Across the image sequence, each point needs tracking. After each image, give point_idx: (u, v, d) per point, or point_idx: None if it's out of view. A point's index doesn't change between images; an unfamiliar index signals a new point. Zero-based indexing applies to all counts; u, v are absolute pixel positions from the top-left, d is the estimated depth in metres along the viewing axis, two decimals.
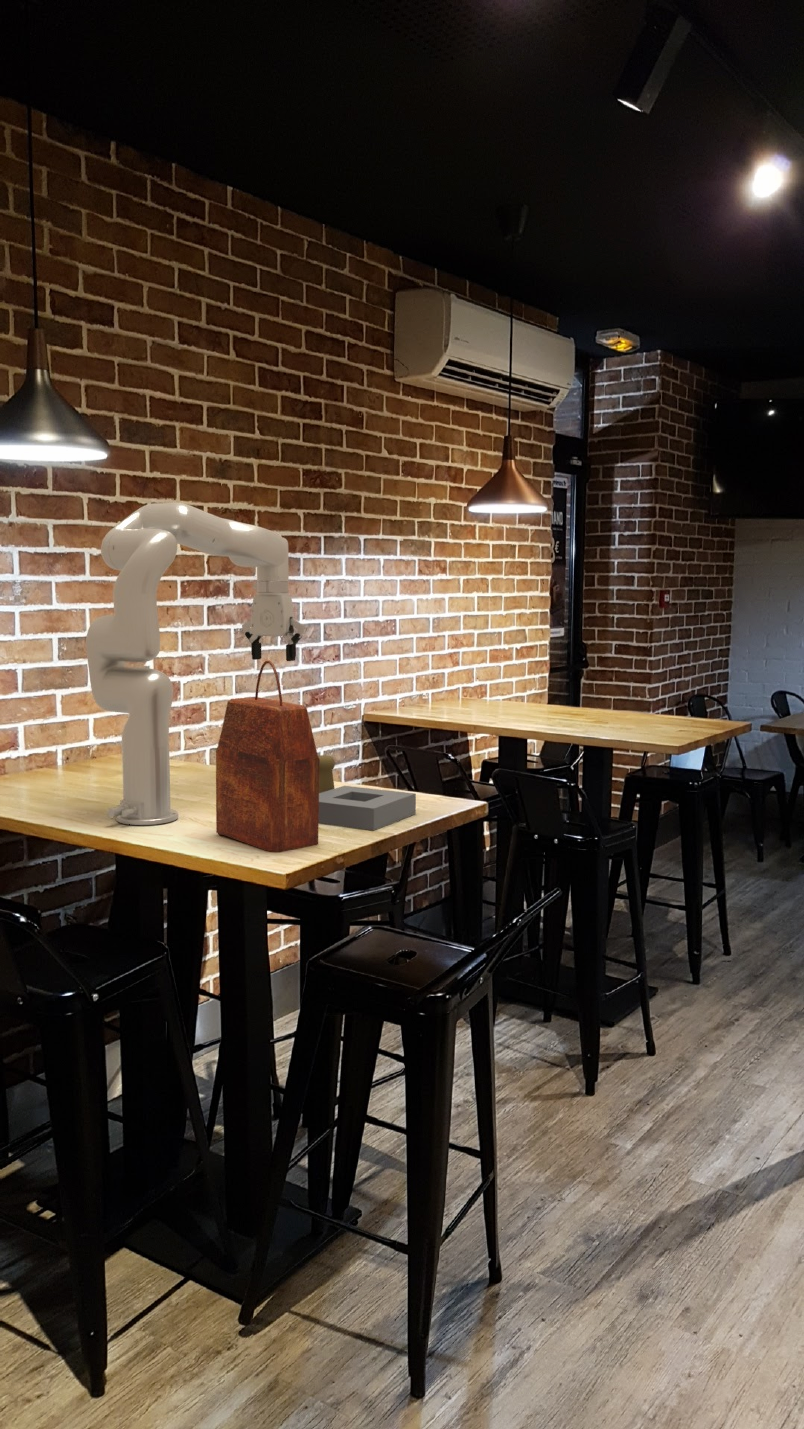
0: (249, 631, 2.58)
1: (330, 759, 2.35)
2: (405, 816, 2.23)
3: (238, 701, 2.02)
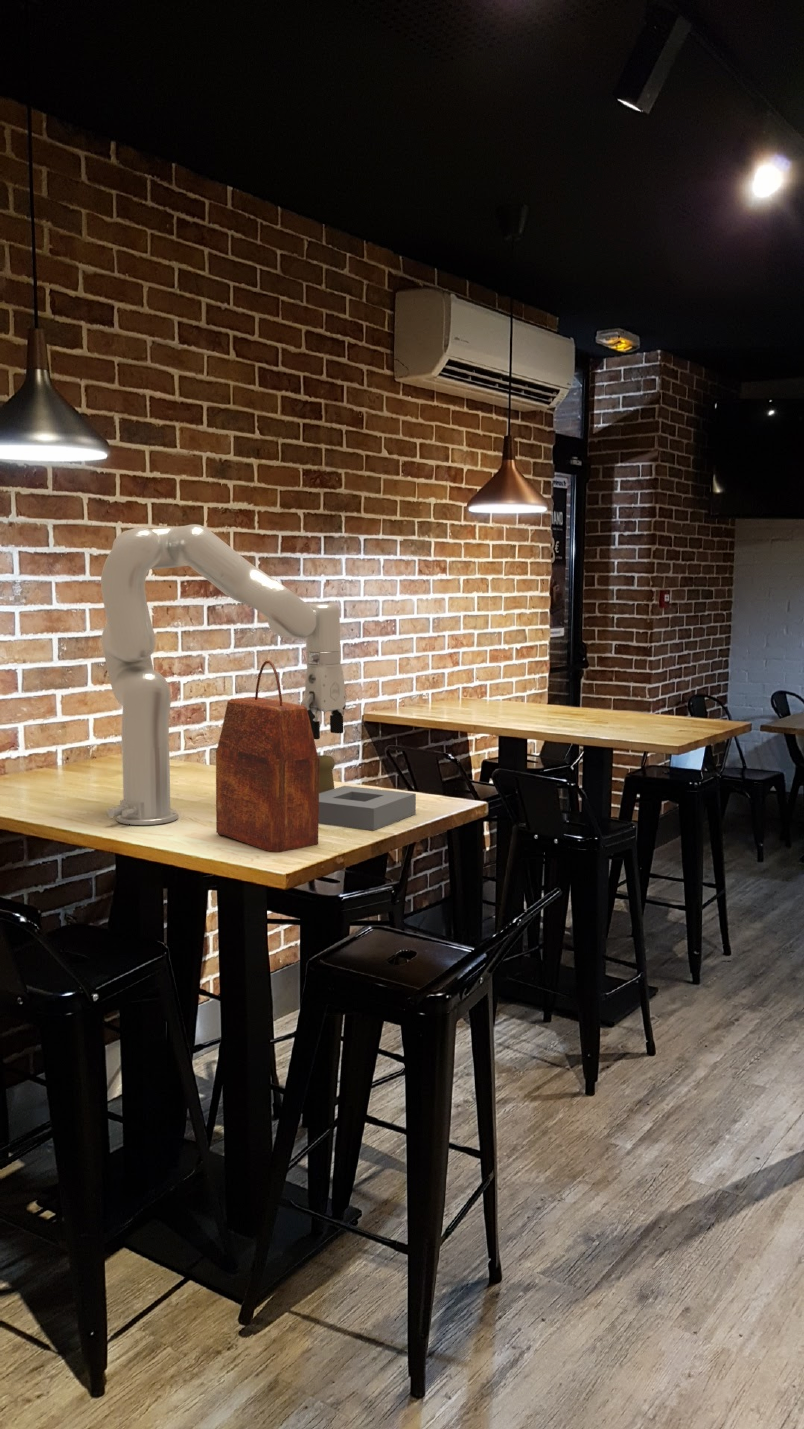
0: None
1: (330, 759, 2.35)
2: (405, 816, 2.23)
3: (238, 701, 2.02)
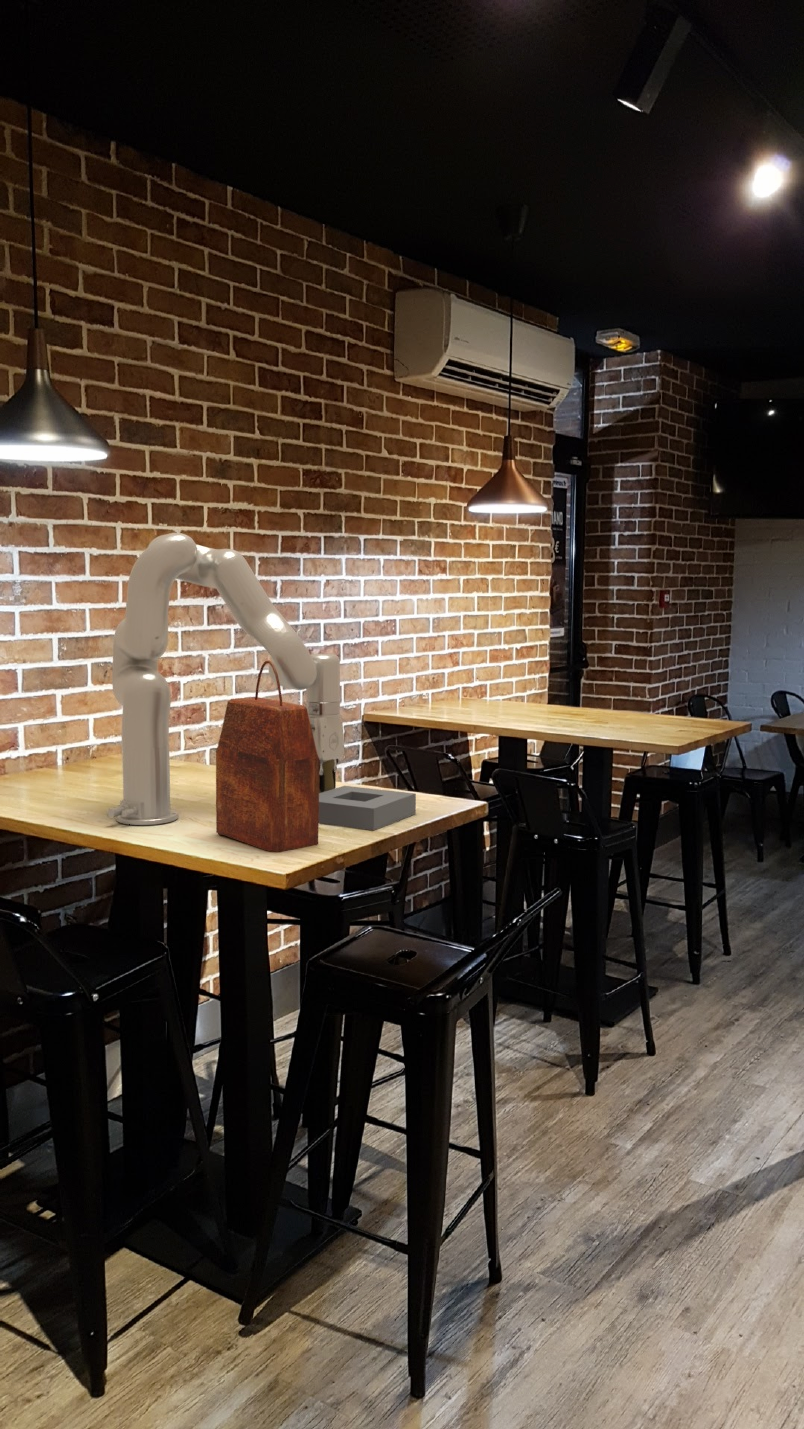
0: None
1: None
2: (405, 816, 2.23)
3: (238, 701, 2.02)
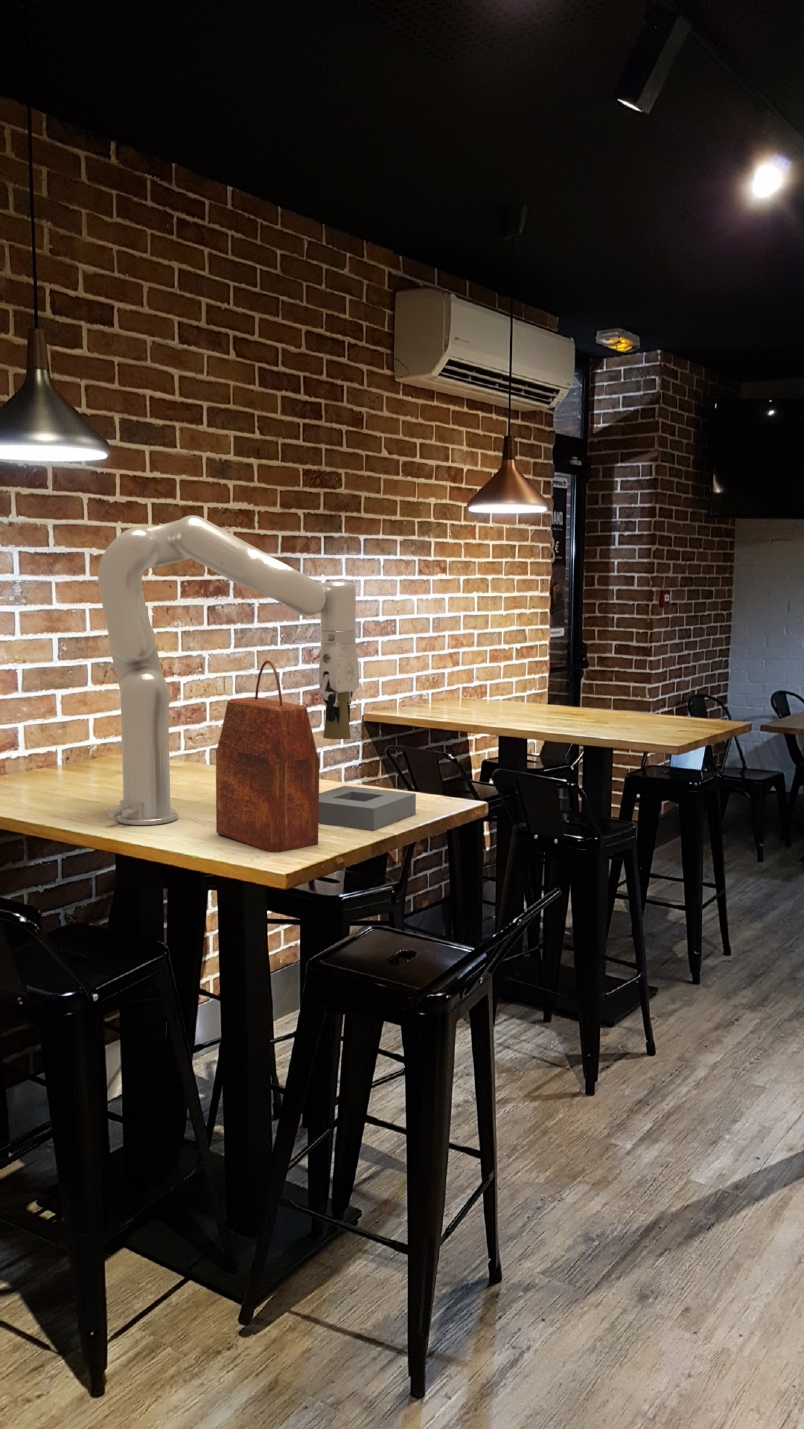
0: None
1: None
2: (405, 816, 2.23)
3: (238, 701, 2.02)
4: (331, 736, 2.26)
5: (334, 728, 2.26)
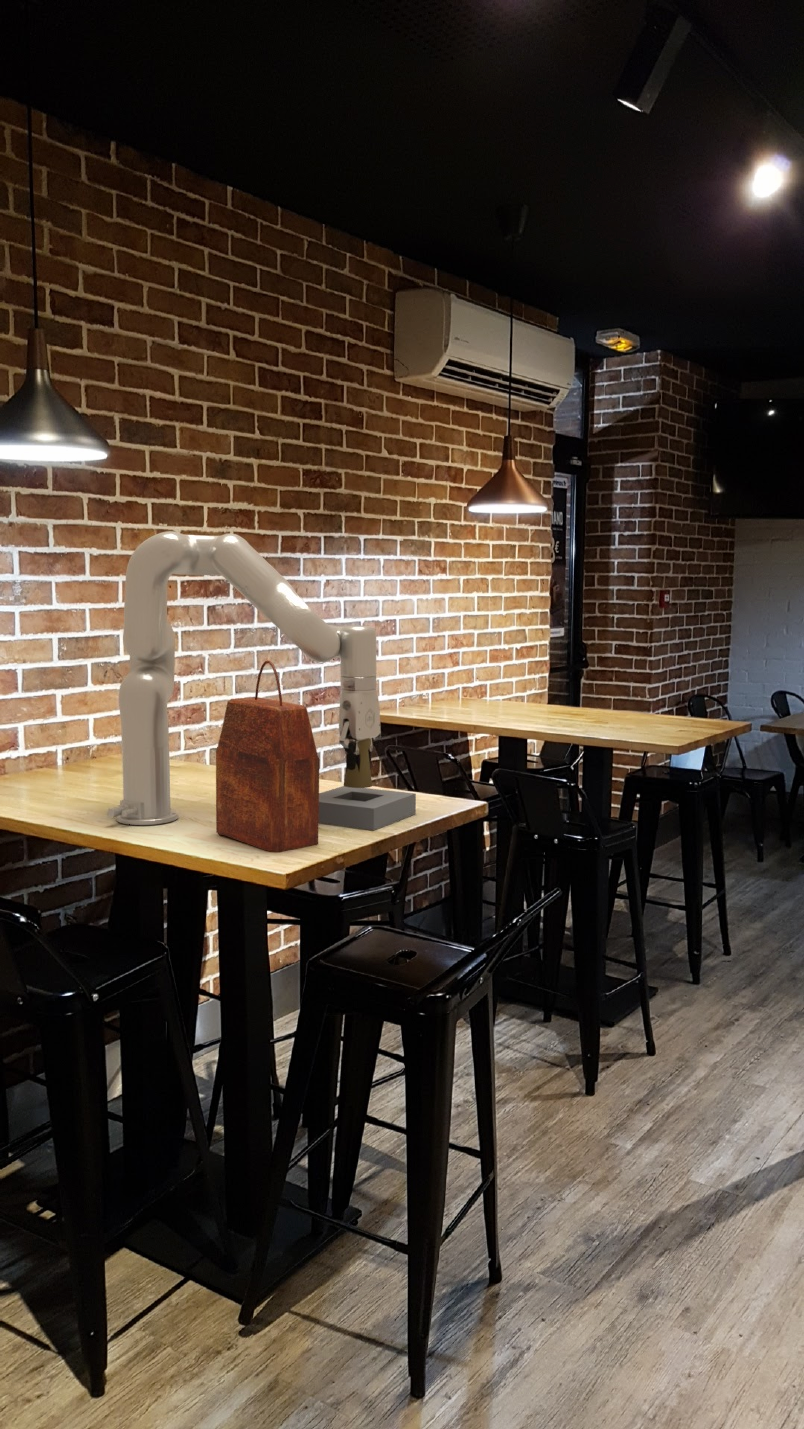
0: None
1: None
2: (405, 816, 2.23)
3: (238, 701, 2.02)
4: (351, 785, 2.20)
5: (354, 776, 2.20)
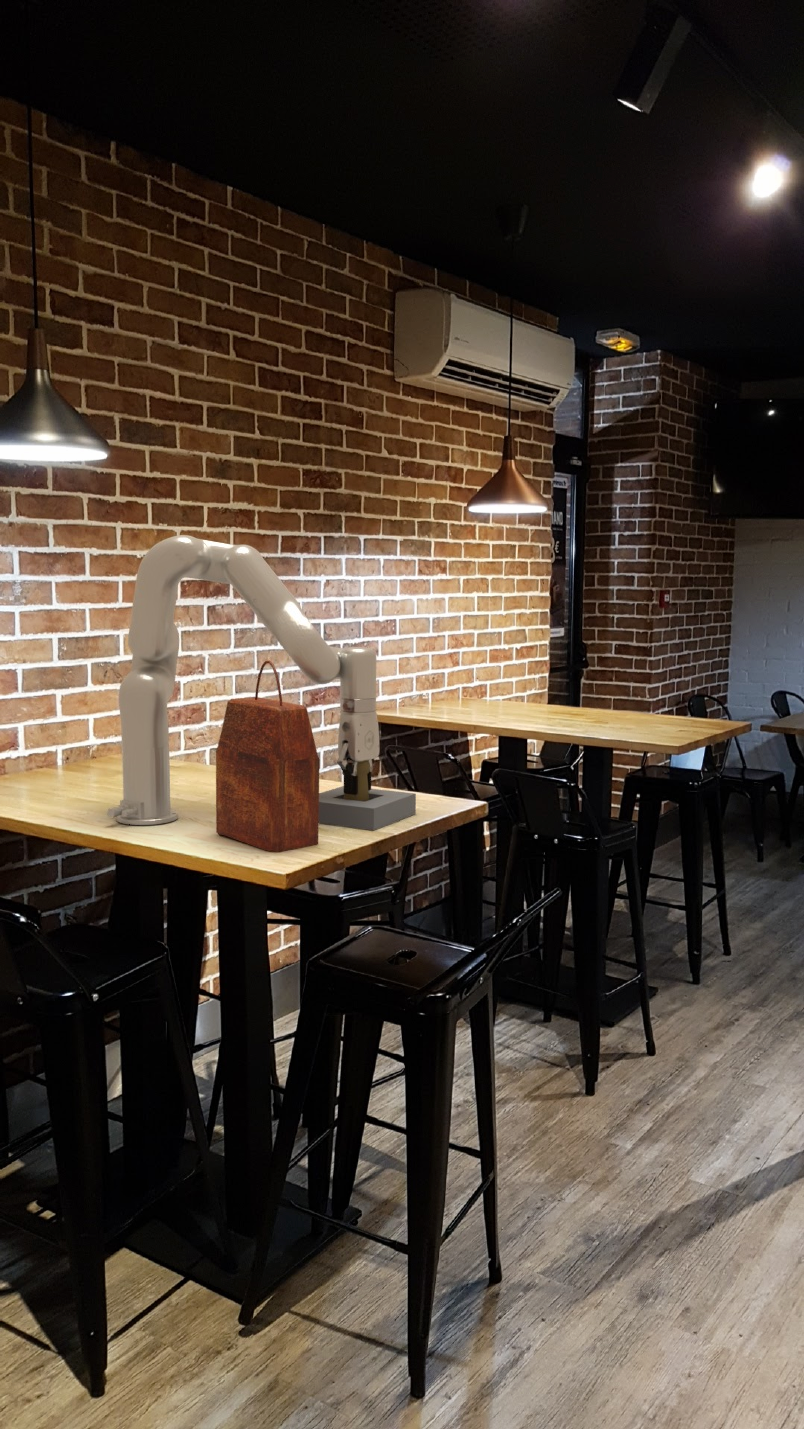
0: None
1: (366, 762, 2.21)
2: (405, 816, 2.23)
3: (238, 701, 2.02)
4: None
5: None
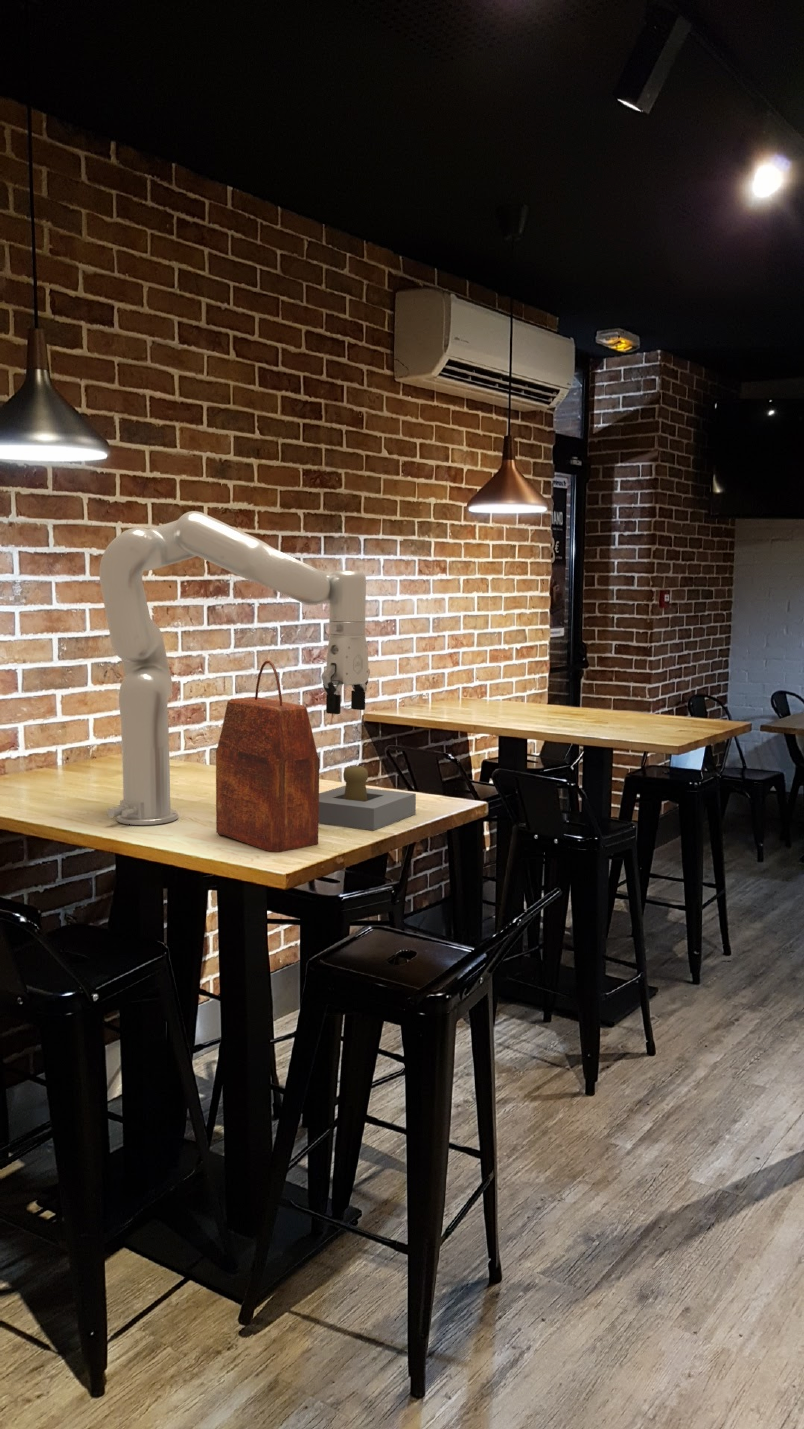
0: None
1: (363, 770, 2.21)
2: (405, 816, 2.23)
3: (238, 701, 2.02)
4: None
5: None
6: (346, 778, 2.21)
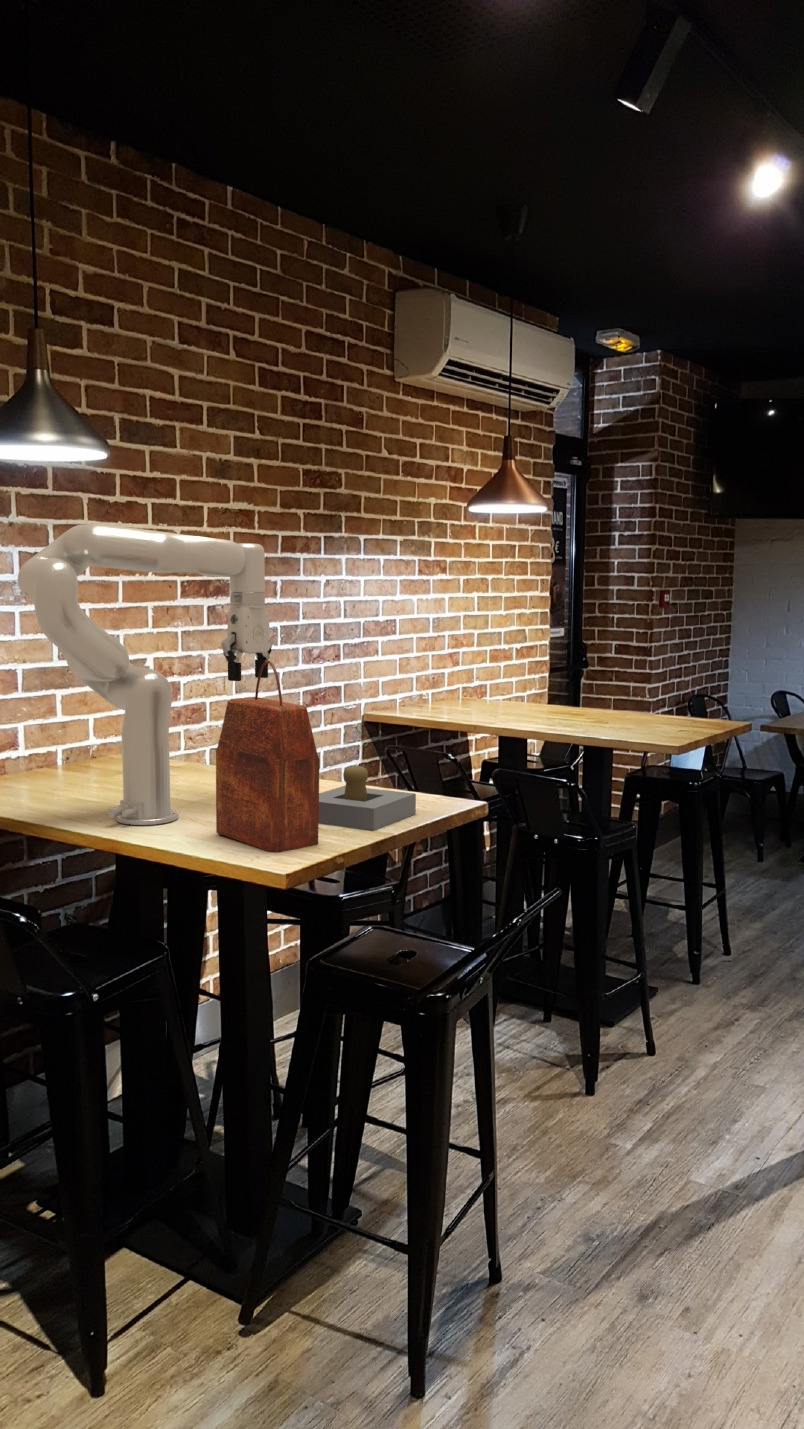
0: None
1: (363, 770, 2.21)
2: (405, 816, 2.23)
3: (238, 701, 2.02)
4: None
5: None
6: (346, 778, 2.21)
